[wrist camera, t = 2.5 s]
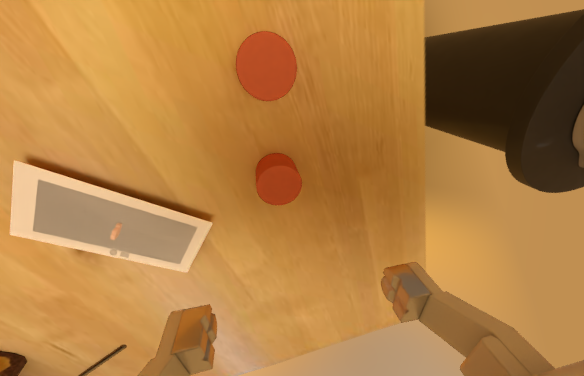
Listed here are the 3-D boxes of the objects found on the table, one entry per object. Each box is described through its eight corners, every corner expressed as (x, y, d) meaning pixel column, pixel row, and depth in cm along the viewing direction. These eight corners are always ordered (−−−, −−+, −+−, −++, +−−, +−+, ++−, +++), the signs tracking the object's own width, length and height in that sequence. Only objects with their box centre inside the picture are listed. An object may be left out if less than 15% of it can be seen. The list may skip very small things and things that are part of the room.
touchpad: (27, 154, 17) (-1, 165, 15) (214, 216, 22) (211, 229, 20) (21, 226, 19) (-3, 243, 18) (189, 265, 25) (184, 280, 23)
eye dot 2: (294, 150, 20) (300, 162, 18) (296, 186, 22) (302, 202, 20) (252, 155, 20) (253, 168, 17) (258, 191, 22) (259, 208, 19)
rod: (128, 343, 31) (126, 348, 30) (53, 395, 34) (49, 401, 34) (124, 341, 31) (121, 347, 30) (48, 394, 34) (44, 400, 33)
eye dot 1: (287, 35, 16) (295, 29, 13) (291, 94, 18) (298, 98, 15) (233, 38, 15) (229, 32, 13) (243, 98, 17) (242, 103, 15)
